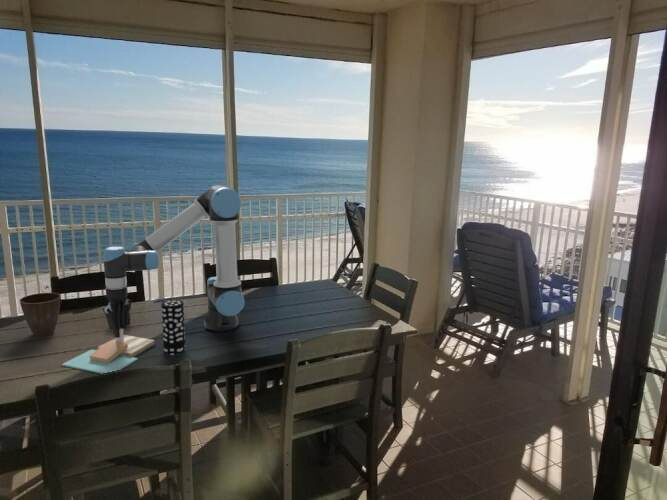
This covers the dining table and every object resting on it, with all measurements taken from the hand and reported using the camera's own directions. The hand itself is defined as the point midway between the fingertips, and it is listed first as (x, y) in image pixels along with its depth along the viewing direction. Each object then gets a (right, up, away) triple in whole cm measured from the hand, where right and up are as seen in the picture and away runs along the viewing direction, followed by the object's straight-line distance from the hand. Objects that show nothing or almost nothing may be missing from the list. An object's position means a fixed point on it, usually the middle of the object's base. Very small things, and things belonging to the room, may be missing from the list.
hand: (120, 344), depth 190 cm
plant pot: (-40, +1, +16) cm, 43 cm away
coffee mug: (-12, +4, +31) cm, 34 cm away
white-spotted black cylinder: (+21, -3, +3) cm, 21 cm away
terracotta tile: (-2, -3, -5) cm, 6 cm away
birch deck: (+1, -2, +4) cm, 5 cm away
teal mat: (-3, -5, -9) cm, 11 cm away
